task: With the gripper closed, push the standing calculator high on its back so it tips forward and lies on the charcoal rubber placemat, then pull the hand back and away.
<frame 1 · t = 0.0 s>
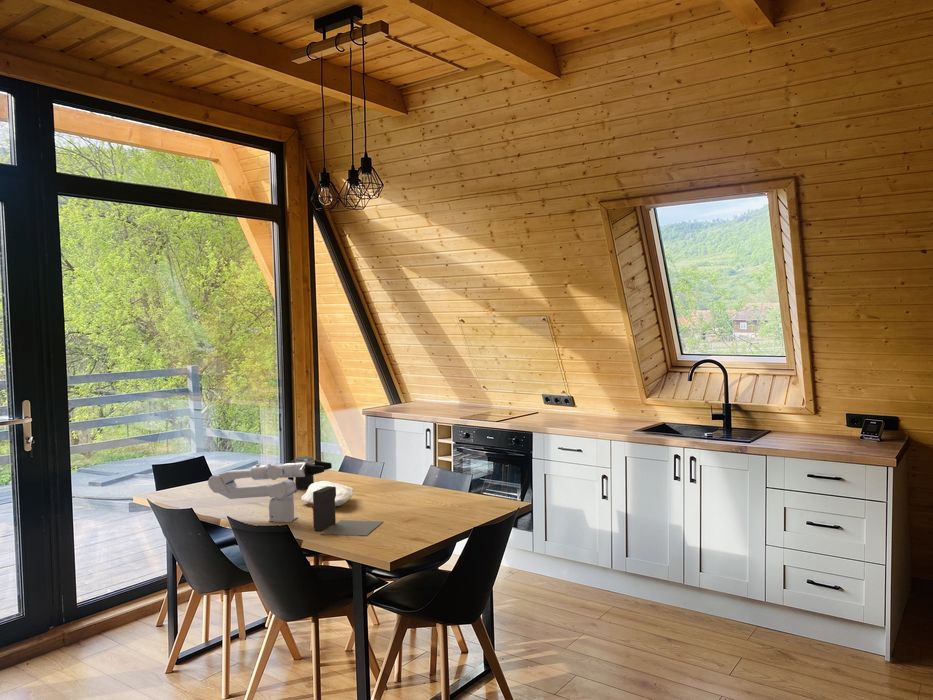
hand: (327, 467, 297), 22 cm above the table, tool horizontal, fingers open, 7 cm apart
placemat: (352, 528, 286), on the table
milk frother: (298, 489, 360), on the table
calculator: (324, 527, 288), on the table
crumpled cloth: (332, 503, 329), on the table
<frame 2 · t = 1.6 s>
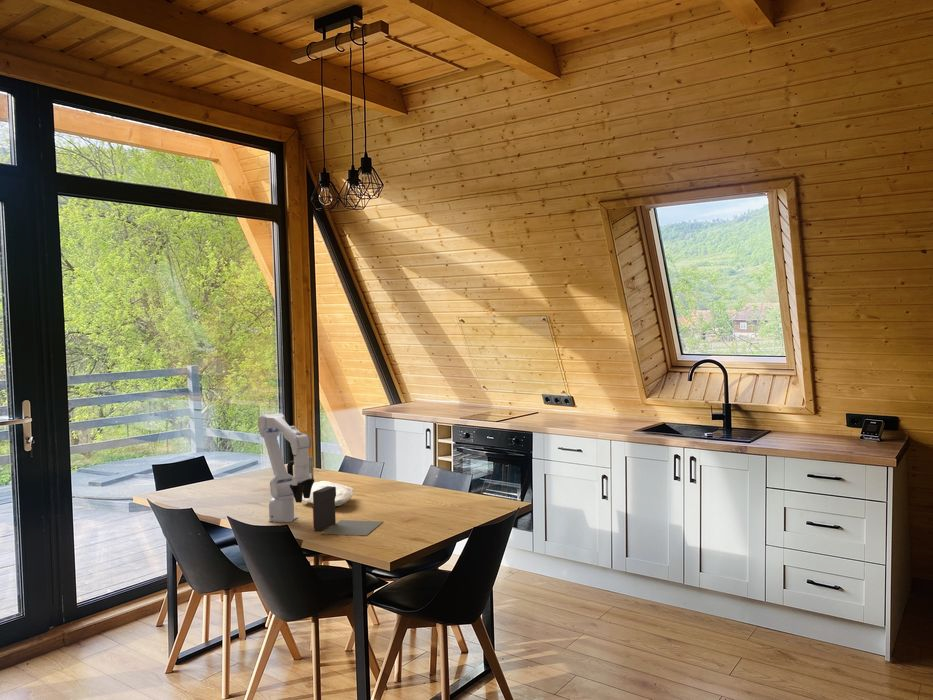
hand: (302, 500, 290), 10 cm above the table, tool pointing down, fingers open, 7 cm apart
nothing on the table moved.
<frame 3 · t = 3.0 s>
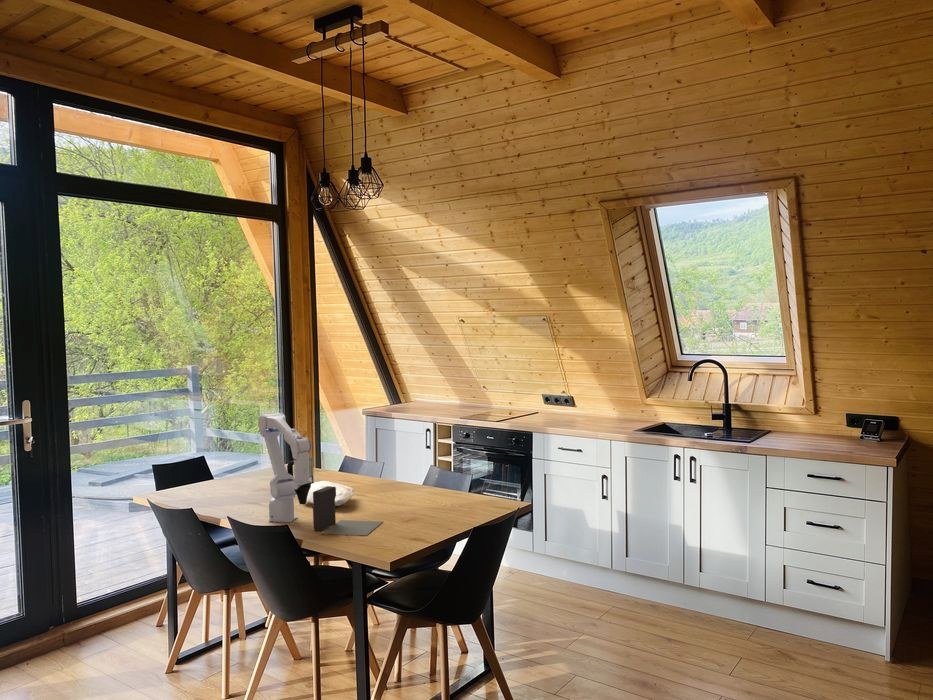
hand: (302, 503, 290), 9 cm above the table, tool pointing down, fingers closed
nothing on the table moved.
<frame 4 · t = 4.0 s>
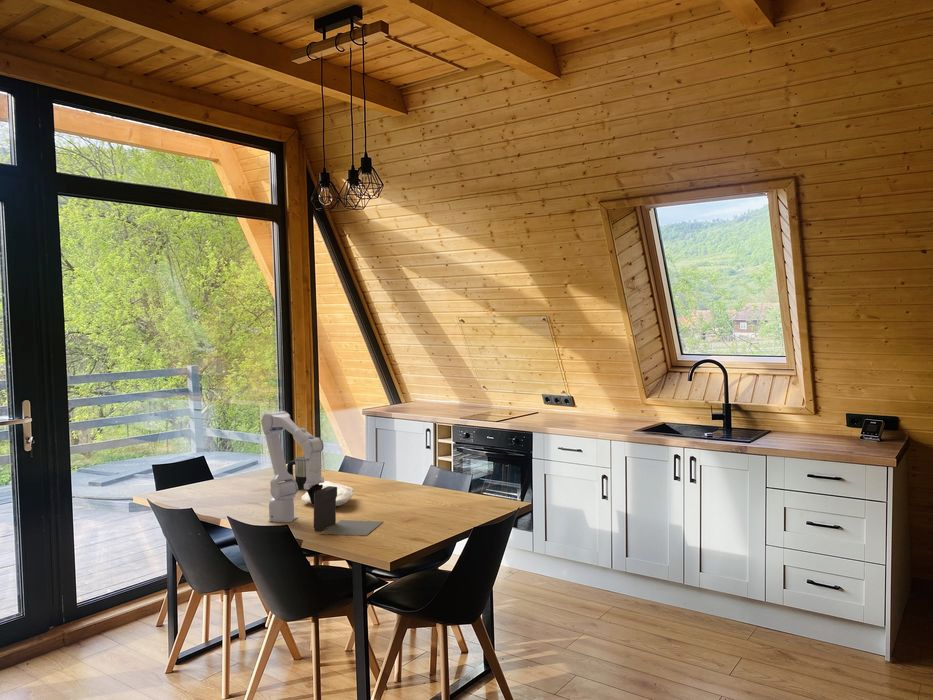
hand: (314, 504, 289), 9 cm above the table, tool pointing down, fingers closed
calculator: (324, 527, 288), on the table, touching gripper
everything else where it was.
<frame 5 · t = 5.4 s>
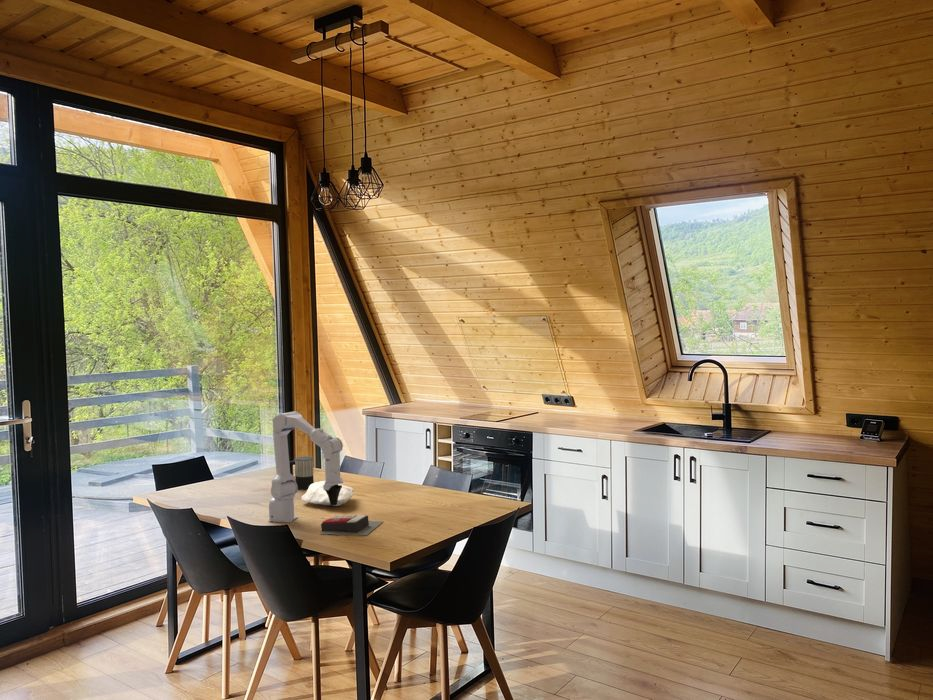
hand: (333, 504, 287), 9 cm above the table, tool pointing down, fingers closed
calculator: (327, 523, 288), point 2 cm above the table, touching placemat
everything else where it was.
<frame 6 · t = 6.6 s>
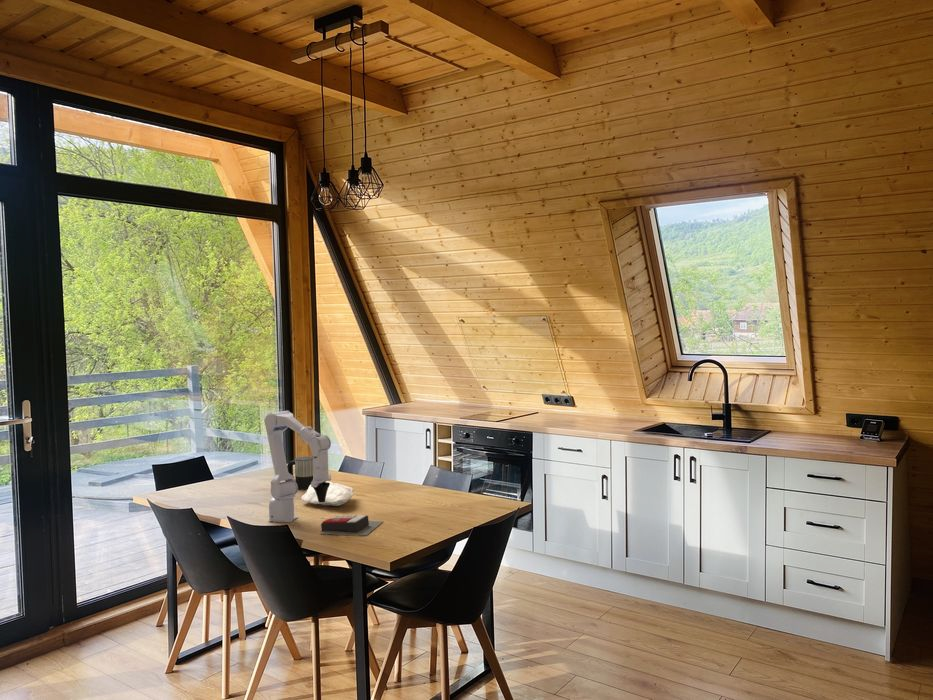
hand: (321, 501, 288), 10 cm above the table, tool pointing down, fingers closed
nothing on the table moved.
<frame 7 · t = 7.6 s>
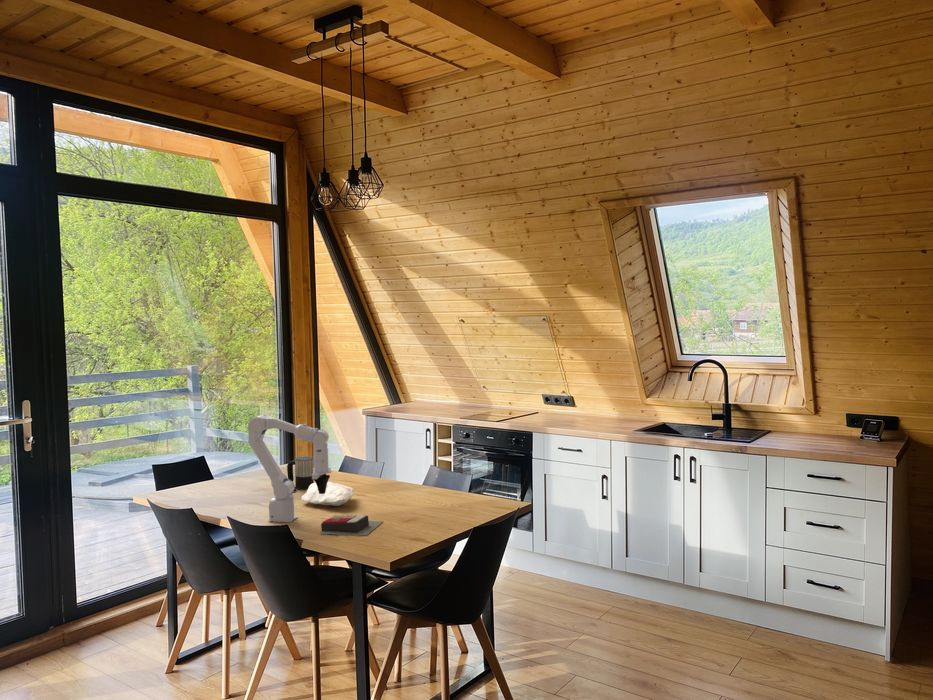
hand: (322, 493, 301), 10 cm above the table, tool pointing down, fingers closed
nothing on the table moved.
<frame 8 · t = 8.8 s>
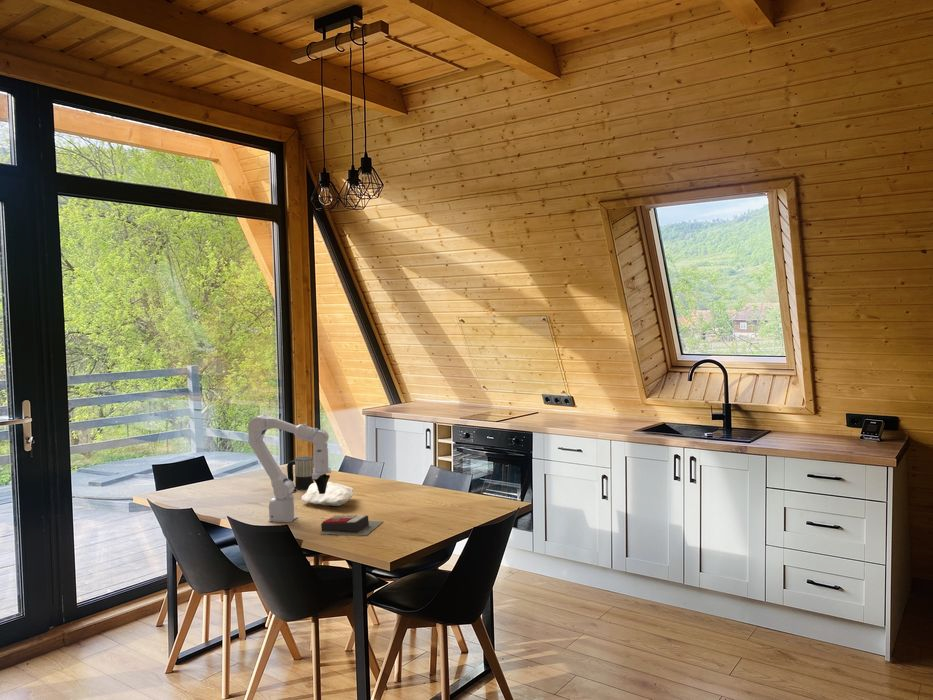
hand: (322, 493, 301), 10 cm above the table, tool pointing down, fingers closed
calculator: (327, 523, 288), point 2 cm above the table, touching placemat
everything else where it was.
at the end: calculator tilted 85°; calculator touching placemat; calculator inside the target area (2.3 cm from its centre), point 1.5 cm above the table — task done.
